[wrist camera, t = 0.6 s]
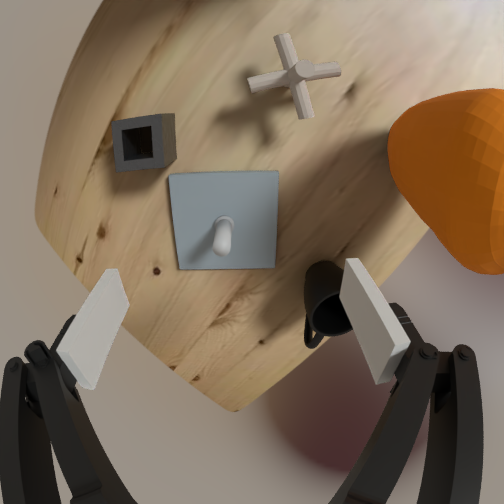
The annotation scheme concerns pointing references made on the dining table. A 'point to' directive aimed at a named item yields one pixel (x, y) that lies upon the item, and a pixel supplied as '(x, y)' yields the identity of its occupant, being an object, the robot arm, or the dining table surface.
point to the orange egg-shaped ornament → (455, 172)
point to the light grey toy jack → (294, 75)
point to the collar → (130, 142)
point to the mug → (324, 303)
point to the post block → (225, 219)
